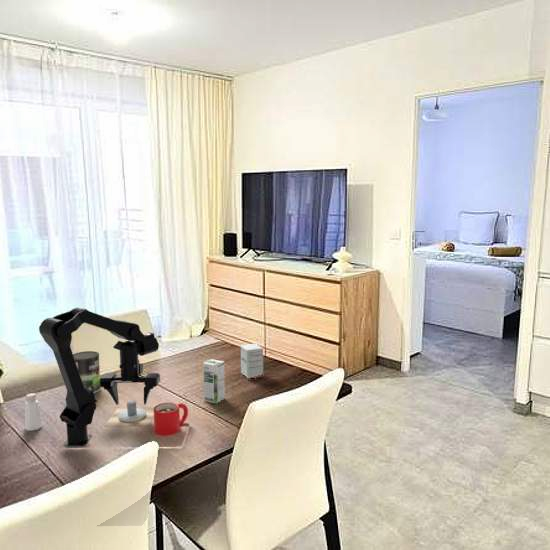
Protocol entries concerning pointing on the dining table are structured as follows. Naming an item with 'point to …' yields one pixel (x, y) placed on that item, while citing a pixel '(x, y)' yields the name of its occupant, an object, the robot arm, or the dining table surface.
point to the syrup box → (214, 381)
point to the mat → (144, 422)
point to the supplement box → (251, 360)
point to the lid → (132, 413)
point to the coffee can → (89, 369)
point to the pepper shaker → (32, 413)
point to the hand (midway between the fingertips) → (131, 404)
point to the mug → (168, 418)
